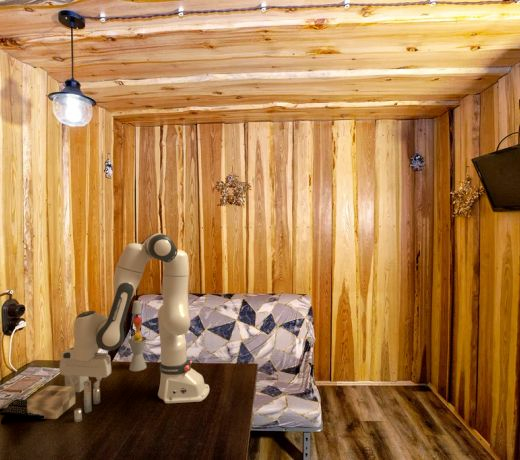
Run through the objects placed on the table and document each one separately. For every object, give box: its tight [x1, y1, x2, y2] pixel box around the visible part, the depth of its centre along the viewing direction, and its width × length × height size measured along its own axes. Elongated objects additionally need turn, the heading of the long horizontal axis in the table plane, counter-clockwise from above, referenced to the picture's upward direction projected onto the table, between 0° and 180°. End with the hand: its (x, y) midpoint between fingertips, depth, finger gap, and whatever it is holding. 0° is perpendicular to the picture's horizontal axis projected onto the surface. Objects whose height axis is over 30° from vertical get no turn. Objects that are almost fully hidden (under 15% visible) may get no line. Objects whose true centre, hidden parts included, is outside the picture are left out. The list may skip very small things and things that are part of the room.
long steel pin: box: [83, 379, 92, 414], centre depth 142 cm, size 3×3×12 cm
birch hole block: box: [26, 385, 76, 420], centre depth 143 cm, size 12×12×7 cm
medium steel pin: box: [92, 386, 101, 405], centre depth 149 cm, size 3×3×6 cm
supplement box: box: [64, 375, 90, 393], centre depth 161 cm, size 7×7×13 cm
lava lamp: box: [127, 300, 147, 372], centre depth 183 cm, size 9×9×35 cm
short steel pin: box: [73, 407, 83, 423], centre depth 136 cm, size 3×3×4 cm
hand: (85, 386), depth 142 cm, fingers open, 8 cm apart
